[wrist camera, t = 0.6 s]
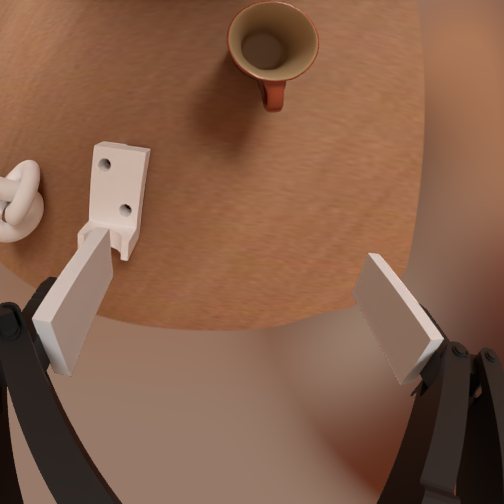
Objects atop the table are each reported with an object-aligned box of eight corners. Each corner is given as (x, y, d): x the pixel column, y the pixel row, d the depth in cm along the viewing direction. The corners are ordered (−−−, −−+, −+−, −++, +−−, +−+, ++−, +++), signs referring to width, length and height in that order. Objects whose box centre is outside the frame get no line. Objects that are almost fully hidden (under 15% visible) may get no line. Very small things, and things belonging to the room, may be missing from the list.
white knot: (62, 226, 40) (35, 254, 32) (8, 226, 39) (-20, 252, 31) (53, 154, 35) (19, 171, 27) (-3, 162, 33) (-37, 180, 25)
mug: (223, 24, 29) (224, 1, 20) (293, 24, 30) (316, 3, 21) (228, 111, 35) (231, 116, 26) (296, 108, 36) (321, 113, 27)
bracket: (140, 234, 43) (127, 260, 36) (97, 226, 41) (78, 251, 35) (152, 147, 37) (137, 159, 30) (104, 140, 35) (81, 151, 29)
